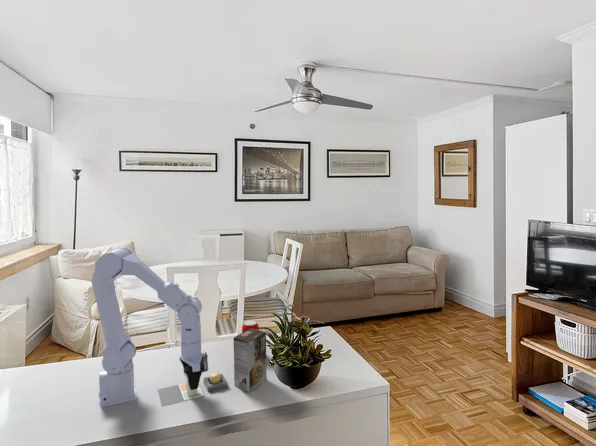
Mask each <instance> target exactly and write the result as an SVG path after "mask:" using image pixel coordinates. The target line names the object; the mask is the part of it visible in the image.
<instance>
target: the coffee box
mask: <svg viewBox="0 0 596 446" xmlns="http://www.w3.org/2000/svg"><path fill="white" fill-rule="evenodd" d="M233 370H234V371H233V376H234V377H233V378H234V379H233V381H234V382H233V384H234V385H233V386H234V387H238V388H240V389H241V390H243V391H245V392H247V393H250V392H252V391H253V390H255V389H256V388H257V387H259V386H260V385H261V384H263V383H264V382H265V381H267V332H266V331H262V330H260V329H259V330H256V329H252V328H250V329H248V330H247V331H245V332H243V333H242V332H241V333H239V334H238V335H236V336H234V337H233Z"/></svg>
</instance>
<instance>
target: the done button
mask: <svg viewBox="0 0 596 446" xmlns="http://www.w3.org/2000/svg"><path fill="white" fill-rule="evenodd" d="M220 374H221V373H220V372H212V373H210V374H209V377H210V385H211V384H216V383H220V382H221V379H220Z"/></svg>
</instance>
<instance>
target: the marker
mask: <svg viewBox="0 0 596 446" xmlns="http://www.w3.org/2000/svg"><path fill="white" fill-rule="evenodd" d="M188 366H190V365H188ZM186 367H187V366H186ZM185 374H186V373H184V375H185ZM185 381H186V382H185V383H186V384H187V395H188V396H195V395H197V394H198V391H197V389H194V390H190V387H189V382H188V377H187V374H186V376H185Z"/></svg>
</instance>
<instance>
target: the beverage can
mask: <svg viewBox="0 0 596 446" xmlns="http://www.w3.org/2000/svg"><path fill="white" fill-rule="evenodd" d="M250 328H252V329H257V330H260V326H259V324H258V322H257V321H256V320H246V321H244V322H243V324H242V326H241V333H243V332H245V331H247V330H248V329H250ZM258 328H259V329H258Z"/></svg>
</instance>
